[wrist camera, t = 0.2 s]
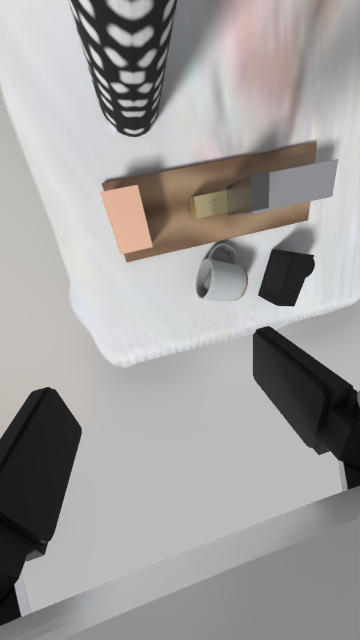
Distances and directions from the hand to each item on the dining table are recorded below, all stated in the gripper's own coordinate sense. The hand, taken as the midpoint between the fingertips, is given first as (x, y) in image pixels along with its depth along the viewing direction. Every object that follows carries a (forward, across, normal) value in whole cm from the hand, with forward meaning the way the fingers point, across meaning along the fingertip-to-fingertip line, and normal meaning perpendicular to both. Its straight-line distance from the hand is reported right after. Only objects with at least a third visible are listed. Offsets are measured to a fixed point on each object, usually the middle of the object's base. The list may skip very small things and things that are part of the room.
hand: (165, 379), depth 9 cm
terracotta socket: (+30, 0, -8) cm, 31 cm away
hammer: (+29, -21, -8) cm, 37 cm away
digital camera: (+31, -28, +8) cm, 43 cm away
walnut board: (+31, -16, -8) cm, 35 cm away
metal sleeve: (+30, -26, -8) cm, 40 cm away
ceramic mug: (+31, -14, +4) cm, 34 cm away
